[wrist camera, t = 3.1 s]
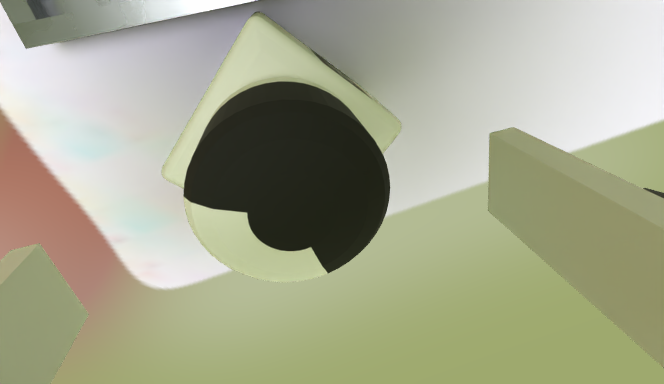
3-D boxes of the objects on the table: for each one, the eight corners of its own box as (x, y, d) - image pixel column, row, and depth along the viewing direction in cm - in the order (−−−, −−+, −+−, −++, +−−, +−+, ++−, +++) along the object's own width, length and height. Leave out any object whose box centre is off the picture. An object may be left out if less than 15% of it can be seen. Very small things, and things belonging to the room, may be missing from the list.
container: (256, 8, 20) (245, 15, 8) (365, 90, 23) (465, 176, 11) (189, 124, 22) (108, 254, 11) (296, 185, 25) (323, 337, 14)
